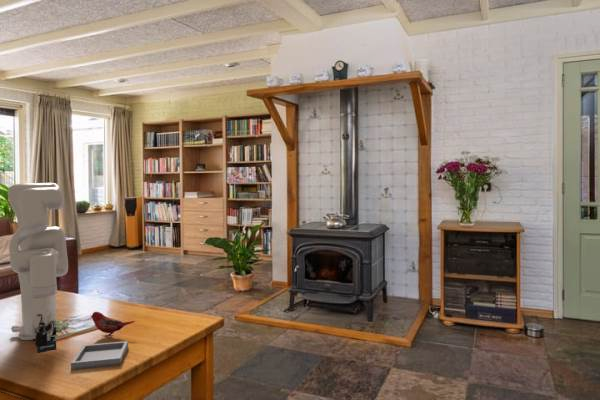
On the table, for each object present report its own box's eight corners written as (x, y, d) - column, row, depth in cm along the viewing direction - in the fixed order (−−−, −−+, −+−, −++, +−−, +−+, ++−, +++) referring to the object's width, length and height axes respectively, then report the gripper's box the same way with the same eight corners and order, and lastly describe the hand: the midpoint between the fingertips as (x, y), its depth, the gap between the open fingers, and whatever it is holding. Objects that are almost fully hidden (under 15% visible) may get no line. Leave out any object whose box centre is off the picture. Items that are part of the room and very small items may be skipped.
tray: (71, 370, 140) (70, 363, 140) (83, 351, 155) (83, 345, 155) (120, 365, 143) (120, 358, 143) (128, 347, 158) (128, 341, 158)
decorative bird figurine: (92, 335, 170) (91, 310, 170) (137, 335, 170) (136, 310, 169) (88, 338, 167) (87, 312, 167) (134, 338, 167) (133, 312, 166)
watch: (37, 355, 142) (36, 323, 141) (36, 346, 149) (35, 315, 148) (57, 351, 145) (55, 319, 144) (55, 342, 152) (54, 312, 151)
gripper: (41, 283, 153) (43, 331, 154) (20, 298, 136) (23, 352, 137) (64, 282, 154) (66, 329, 156) (47, 297, 137) (49, 350, 139)
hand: (46, 340), depth 147 cm, fingers closed on watch, 8 cm apart
